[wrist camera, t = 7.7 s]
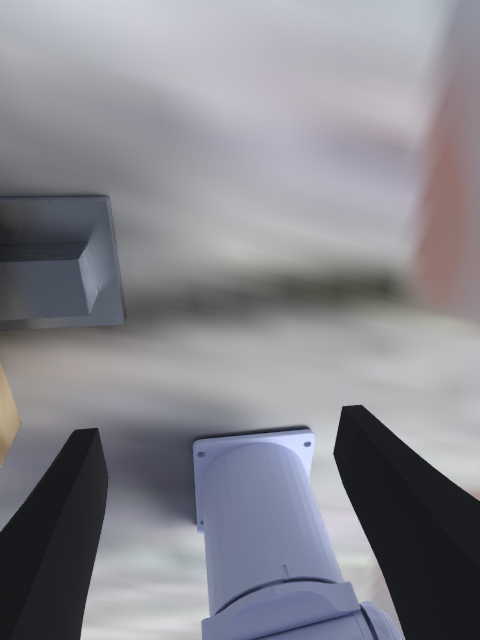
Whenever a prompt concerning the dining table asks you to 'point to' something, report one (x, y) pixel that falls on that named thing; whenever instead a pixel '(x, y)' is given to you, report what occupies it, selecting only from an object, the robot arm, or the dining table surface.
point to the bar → (7, 417)
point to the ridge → (58, 263)
